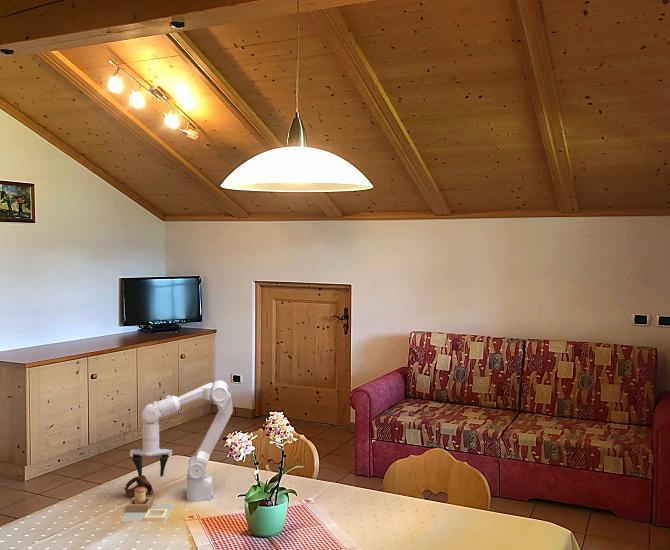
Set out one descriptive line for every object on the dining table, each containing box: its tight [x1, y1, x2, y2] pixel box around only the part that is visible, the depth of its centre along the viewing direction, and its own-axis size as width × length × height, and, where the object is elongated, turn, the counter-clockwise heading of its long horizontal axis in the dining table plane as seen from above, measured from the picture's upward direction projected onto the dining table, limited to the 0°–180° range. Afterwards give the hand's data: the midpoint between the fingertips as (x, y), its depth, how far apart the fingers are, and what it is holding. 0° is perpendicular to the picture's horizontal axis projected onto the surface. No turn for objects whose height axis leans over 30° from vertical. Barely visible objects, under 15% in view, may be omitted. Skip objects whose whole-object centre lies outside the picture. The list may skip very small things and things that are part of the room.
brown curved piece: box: [124, 474, 154, 497], centre depth 248 cm, size 12×10×8 cm
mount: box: [120, 496, 175, 522], centre depth 230 cm, size 15×14×4 cm
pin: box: [134, 487, 147, 504], centre depth 233 cm, size 4×4×7 cm
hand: (151, 475), depth 240 cm, fingers open, 7 cm apart
